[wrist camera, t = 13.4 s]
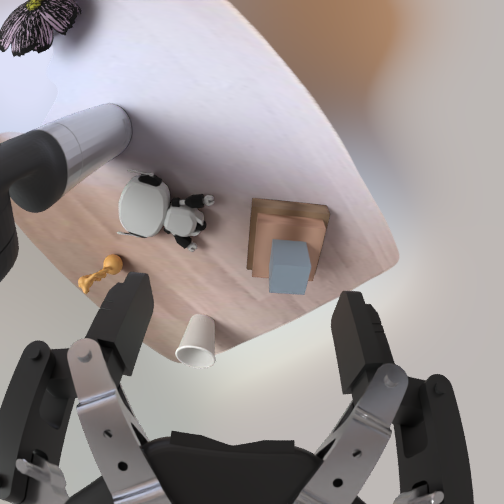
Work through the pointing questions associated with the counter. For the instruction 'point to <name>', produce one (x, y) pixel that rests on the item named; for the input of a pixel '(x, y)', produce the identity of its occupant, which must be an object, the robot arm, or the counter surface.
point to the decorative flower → (37, 25)
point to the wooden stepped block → (284, 231)
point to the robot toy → (160, 210)
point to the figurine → (101, 272)
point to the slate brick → (289, 267)
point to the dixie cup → (198, 343)
